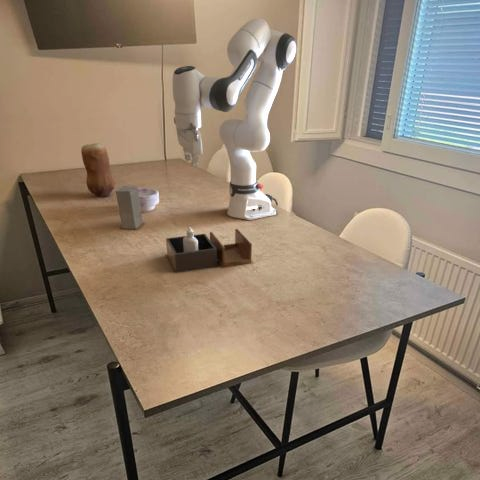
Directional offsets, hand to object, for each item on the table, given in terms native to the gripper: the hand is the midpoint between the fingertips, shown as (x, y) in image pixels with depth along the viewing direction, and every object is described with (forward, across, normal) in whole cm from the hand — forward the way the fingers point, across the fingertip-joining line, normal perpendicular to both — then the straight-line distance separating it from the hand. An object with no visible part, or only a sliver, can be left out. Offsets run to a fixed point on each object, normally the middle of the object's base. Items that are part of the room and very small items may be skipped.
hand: (191, 163), depth 153 cm
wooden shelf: (+29, -20, -7) cm, 36 cm away
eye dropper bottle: (+28, -19, +7) cm, 35 cm away
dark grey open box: (+29, -19, +7) cm, 35 cm away
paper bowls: (+30, +42, +14) cm, 53 cm away
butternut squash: (+29, +67, +30) cm, 79 cm away
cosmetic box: (+29, +22, +22) cm, 43 cm away
